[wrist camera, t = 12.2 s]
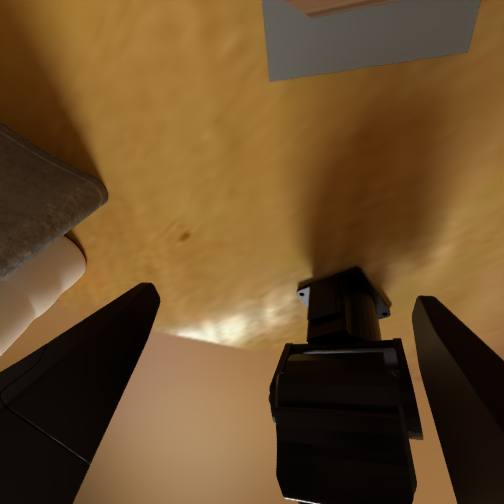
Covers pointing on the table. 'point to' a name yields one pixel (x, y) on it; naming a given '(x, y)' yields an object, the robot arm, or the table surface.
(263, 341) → the table surface
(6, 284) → the water bottle
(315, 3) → the walnut pillar
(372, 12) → the mat
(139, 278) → the table surface
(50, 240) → the flask
